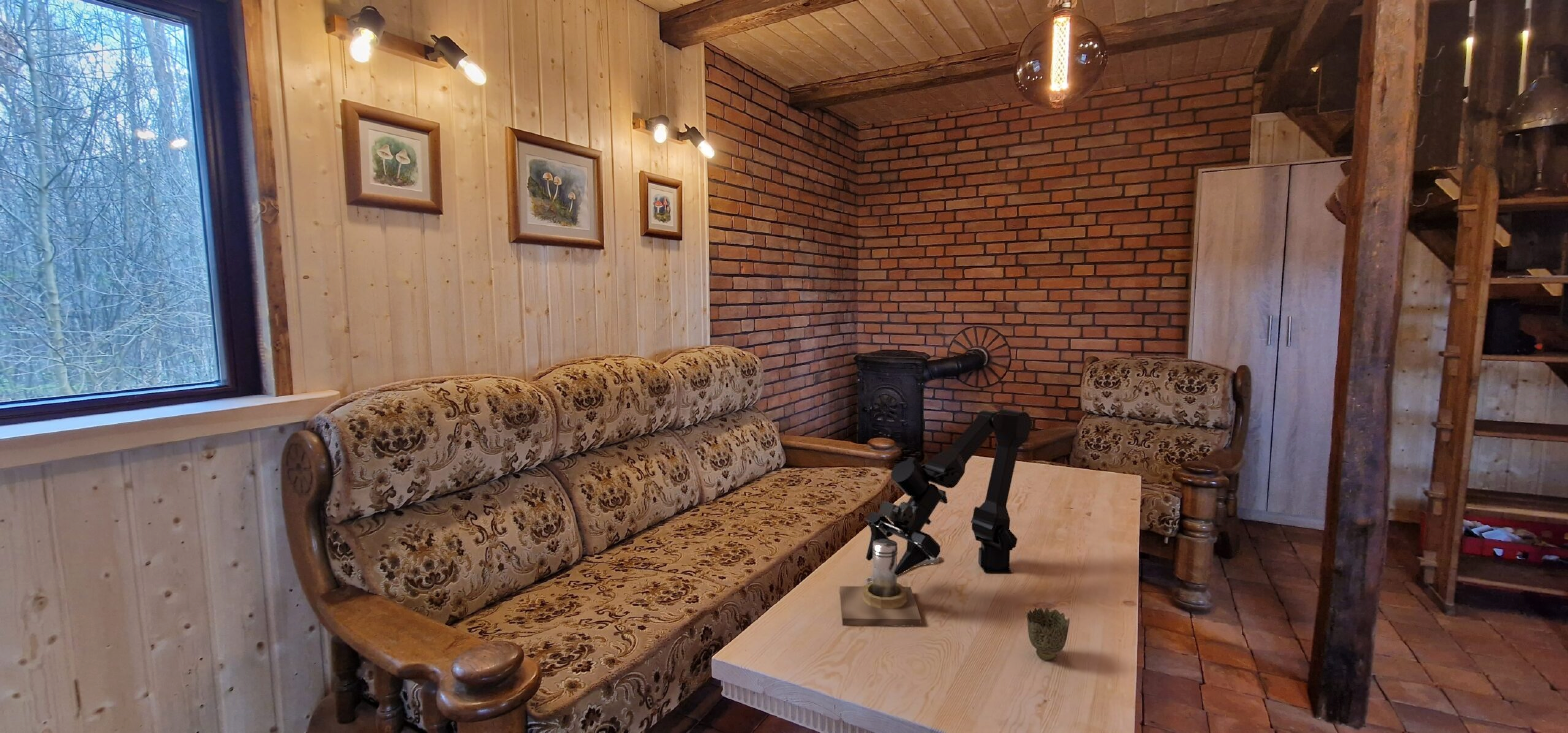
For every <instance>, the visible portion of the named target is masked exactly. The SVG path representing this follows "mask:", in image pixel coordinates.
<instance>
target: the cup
mask: <svg viewBox="0 0 1568 733" xmlns="http://www.w3.org/2000/svg"><path fill="white" fill-rule="evenodd" d="M1065 617H1066V615H1065V613H1064V612H1062V613H1060V611H1058V610H1057V609H1052V610H1050V609H1049V608H1048V607H1046V608H1045V609H1043V608H1042V607H1039V608H1036V607H1035V608H1034V609H1033V610H1031V609H1029V612H1026V623H1027V624H1026V625H1027V633H1028V638H1029V641H1030V644H1031V645H1032V647H1033V648H1034V649H1036V650H1035V652H1036V655H1037V657H1038V658H1039V659H1041V660H1043V661H1048V662H1049V661H1055V660H1056V659H1057V656H1058V653H1059V652H1061V651H1062V650H1063V649H1064V647H1065V646H1066V642H1067V639H1068V634H1069V627H1070V620H1071V619H1070V618H1069V617H1068V618H1067V619H1066V618H1065Z"/></svg>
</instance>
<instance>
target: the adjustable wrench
mask: <svg viewBox="0 0 1568 733" xmlns="http://www.w3.org/2000/svg"><path fill="white" fill-rule="evenodd" d="M929 557H930V556H929ZM930 558H931V559H930V560H925V561H923V562H921V563H919V564H917V565H915V566H918V565H923V566H925V565H924V564H930V565H932V564H931V563H936V564H938V563H939V562H940V554H939V555H938V557H937V558H936V559H934V558H932V557H930ZM937 562H938V563H937ZM913 567H914V566H913ZM913 567H911V568H913ZM918 567H919V566H918ZM909 569H910V568H909ZM913 569H914V568H913ZM870 581H873V575H872V576H869V577H866V579H865V585H866V584H867V583H870Z"/></svg>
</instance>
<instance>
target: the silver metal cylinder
mask: <svg viewBox="0 0 1568 733" xmlns="http://www.w3.org/2000/svg"><path fill="white" fill-rule="evenodd" d="M872 549H873V550H872V553H873V558H872V576H873V595H874V596H878V597H888V598H891V597H895V596H897V583H898V576H897V575H896V574H895V573H894V571H895V569H896V567H897V565H898V554H899V552H898V542H897V541H896V540H894V539H893V540H892V539H890V538H889V539H878V540H875V541H873V547H872Z"/></svg>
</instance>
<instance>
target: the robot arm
mask: <svg viewBox="0 0 1568 733" xmlns="http://www.w3.org/2000/svg"><path fill="white" fill-rule="evenodd" d="M1032 425H1033V419H1032V418H1031V416H1030V414H1029V413H1028V412H1026V411H1022V410H1017V409H1016V410H1015V409H1010V408H1001V409H1000V410H999V411H994V410H993V411H992V410H986V409H984V410H980V411H979V412H978V413H977V415H976V418H975V419H974V420H973V421H972V422H971V424H970V425H969V426H968V427H967V428H966V429H965V430H964V431H963V432H962V433H961V435H960V436H958V438H957V439H956V440H955V441H954V442H953V443H952V445H951V446H950V447H949V448H947V449H945V450H943V451H940V452H938V453H936V454H935V455H933V457H931V458H930V459H929V460H928V461H927V462H926V463H924V464H922V465H921V464H920V462H919V461H918V460H917V458H915V457H911V456H908V458H907V459H906V460H903V461H901V462H899V463H897V465H895V466H894V467H893V468H892V469H891V473H890V477H891V479H892V481H893V482H894V483H895V484H896V485H897V486H898V488H900V489H901V490H902V491H903V493H904V494H905V495H906V496H908V497H909V499H908V500H907V501H906V502H905V501H901V502H900V504H899V505H897V504H894V503H891V502H889V501H886V500H882V502H881V504H880V507H879V509H878V512H877V511H872V512H870V513H869V514H868V516H867V518H866V519H865V521H866V522H867V523H868V524H867V525H868V527H869V528H870V534H871V535H870V540H869V544H868V547H867V553H866V557H865V559H866V560H867V561H872V560H873V553H872V550H873V549H872V547H873V541H875V540H878V539H890V538H889V537H892V536H893V535H895V536H897V537H899V538H901V539H904V540H906V550H905V552H904V554H903V555H902V557H901V559H899V561H898V562H897V567H896V569H895V571H894V573H895V574H896V575H898V576H899V574H900V575H902V574H904V573H905V572H904V571H906V570H908V569H909V568H911V567H913V566H915V565H917V564H919V563H921V562H923V561H925V560H930V559H931V558H930V557H932V558H934V559H936V558H937V557H938V555H939V556H940V553H941V546H940V544H939V543H938V542H937V540H935V538H933V536H931V535H930V534H928V533H925V532H924V531H922V529H923V528H924V527H925V525H927V526H930V524H932V520H931V519H930V517H931V515H932V514H933V512H934V511H935V509H936V508H937V506H938V504H939V503H943V504H948V498H947V492H946V490H942V489H941V488H939V487H938V486H940V487H943V488H946V489H953V488H955V487H956V486H957V485H958V484H959V482H960V481H961V479H962V478H963V476H964V474H965V472H966V465H967V463H968V462H969V461H970V459H971V458H972V457H973V456H974V455H975V453H976V452H977V451H978V450H979V449H980V448H981V447H982V445H983V444H984V443H985V442H986V441H987V440H988V438H989V437H990V436H991V435H992V434H993V435H994V437H995V440H996V443H997V444H996V450H995V453H994V459H993V462H992V468H991V472H990V475H989V482H988V486H987V490H986V493H985V494H986V495H985V499H984V502H983V503H982V504H981V505H980V506H979V507H978V506H975V507H974V508H973V512H972V513H973V515H972V517H971V520H970V523H971V530H972V531H973V535H974V538H975V541H977V542H979V543H980V547H978V557H977V558H978V561H977V563H978V565H979V567H980V568H981V569H982V570H983V573H984V574H985V573H986V574H988V573H989V574H1011V573H1012V572H1013V571H1012V569H1011V567H1010V563H1011V562H1010V560H1011V559H1010V558H1011V555H1010V554H1011V551H1013V549H1015V548H1016V546H1017V543H1018V538H1017V537H1016V536H1015V534H1014V533H1013V532H1012V530H1010V525H1011V517H1010V515H1009V511H1008V509H1007V503H1008V499H1009V495H1010V490H1011V489H1010V488H1011V485H1012V481H1013V476H1014V472H1015V471H1014V470H1015V468H1016V467H1015V465H1016V461H1017V458H1018V457H1017V456H1018V452H1019V449H1020V447H1021V446H1023V444H1024V443H1025V442H1026V441H1027V440H1028V438H1029V435H1030V432H1031V429H1032ZM929 556H930V557H929ZM908 571H909V570H908ZM903 572H904V573H903ZM906 572H907V571H906ZM901 573H902V574H901Z"/></svg>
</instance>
